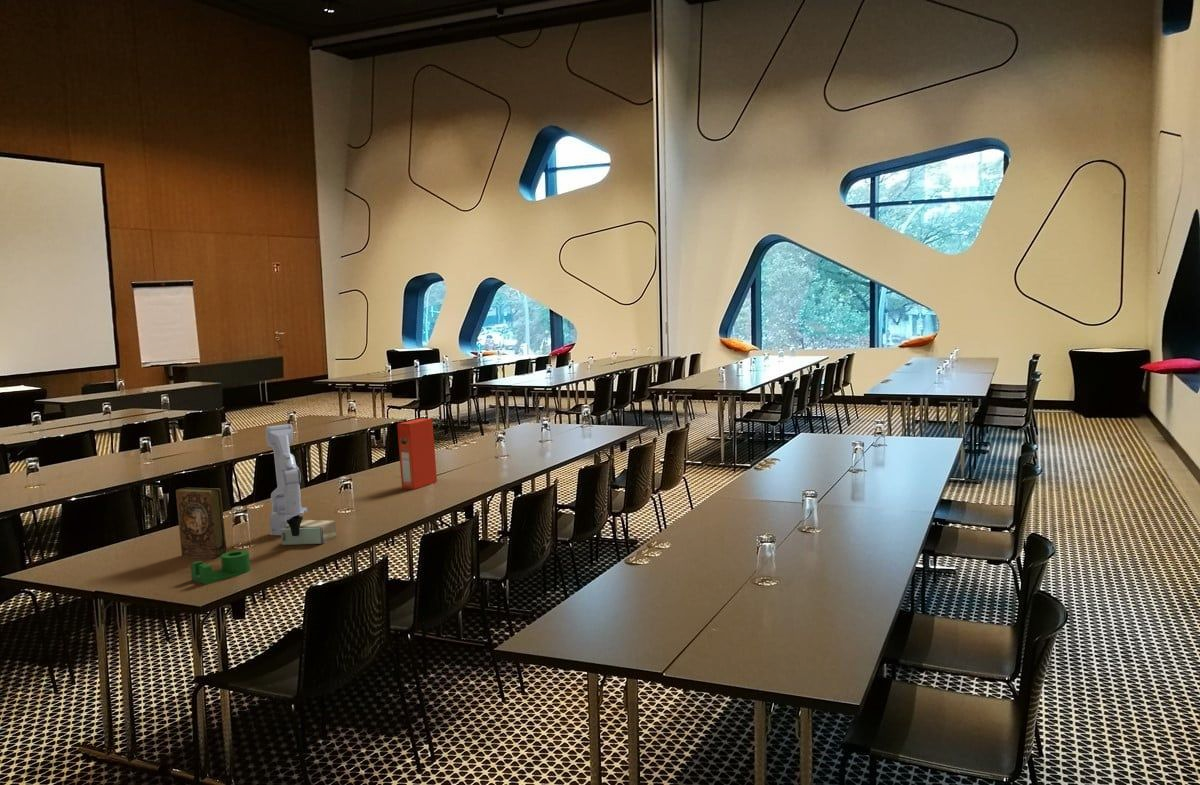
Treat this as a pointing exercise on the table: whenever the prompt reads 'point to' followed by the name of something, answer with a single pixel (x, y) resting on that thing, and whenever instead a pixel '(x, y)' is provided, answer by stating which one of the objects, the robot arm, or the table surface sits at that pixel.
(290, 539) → the door
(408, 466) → the file binder
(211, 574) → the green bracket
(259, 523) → the table surface
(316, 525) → the cabinet
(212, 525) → the book
